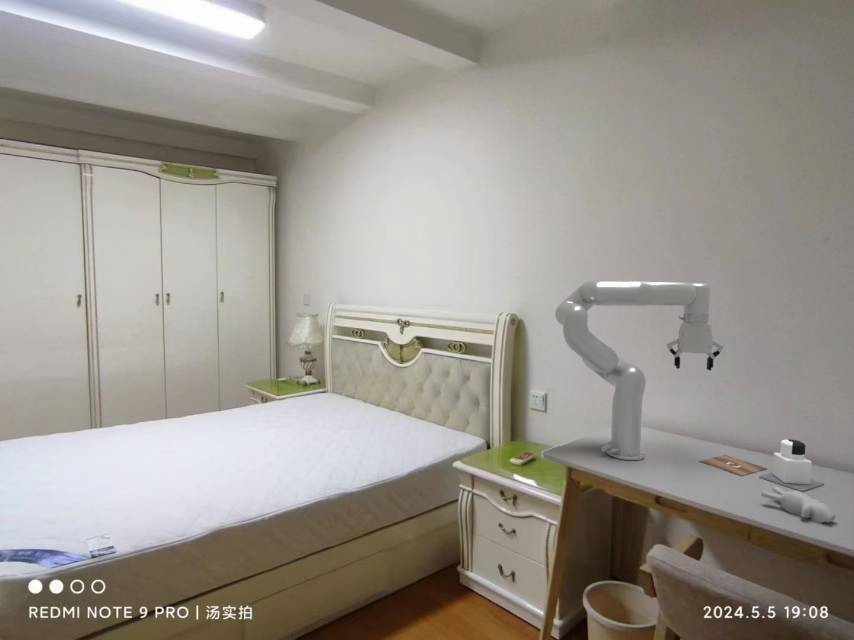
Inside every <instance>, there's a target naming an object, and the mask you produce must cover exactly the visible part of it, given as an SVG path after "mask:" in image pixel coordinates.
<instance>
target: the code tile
mask: <svg viewBox="0 0 854 640" xmlns="http://www.w3.org/2000/svg"><path fill="white" fill-rule="evenodd" d="M699 463H702V464H704V463H705V464H704V465H707V464H708V466H710V465H711V467H713V466H714V468H716V467H717V469H719V468H720V469H719V470H722V469H723V470H722V471H725V472H727V471H728V473H730V472H731V474H733V473H734V475H736V474H737V476H739V475H740V477H744V476H748V475H751V474H755V473H758V472H760V470H762V471H765V470H768V469H767V467H764V466H761V465H759V464H755V463H753V462H749V461H747V460H742V459H739V458H736V457H733V456H730V455H726V454H723V455H719V456H715V457H714V456H713V457H711V458H707V459H702V460H699ZM764 469H765V470H764ZM757 471H758V472H757ZM747 474H748V475H747Z"/></svg>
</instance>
